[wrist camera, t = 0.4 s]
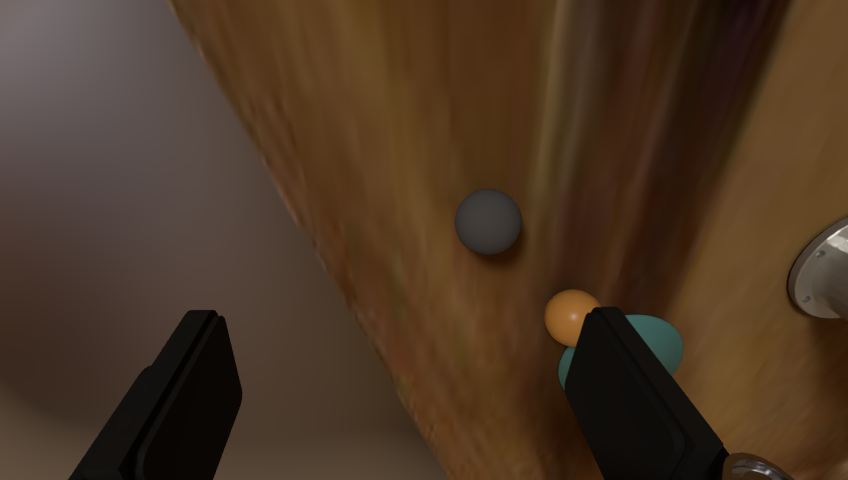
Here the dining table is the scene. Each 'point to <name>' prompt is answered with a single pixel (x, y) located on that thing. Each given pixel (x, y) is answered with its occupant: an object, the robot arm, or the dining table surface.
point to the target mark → (655, 335)
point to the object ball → (568, 315)
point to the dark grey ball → (488, 222)
